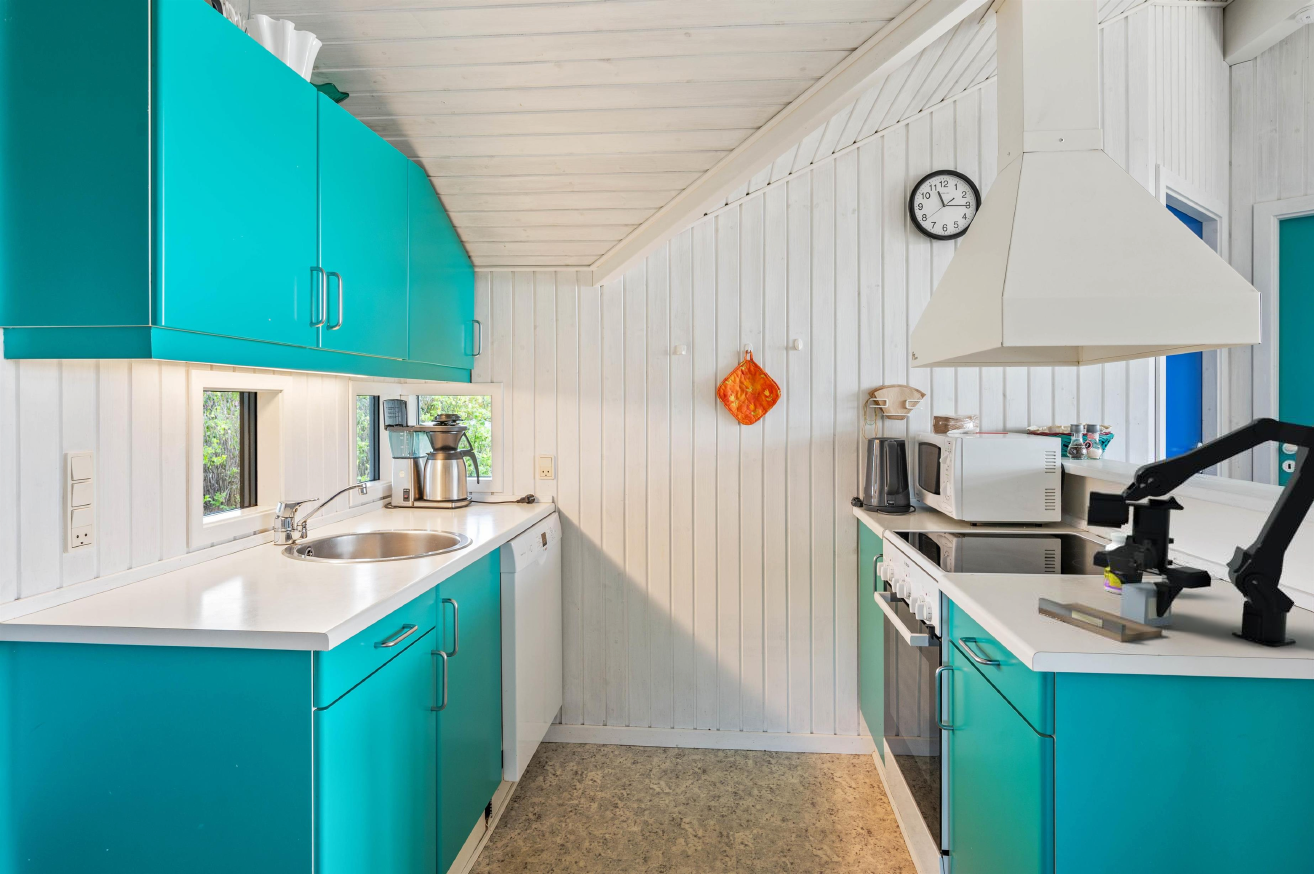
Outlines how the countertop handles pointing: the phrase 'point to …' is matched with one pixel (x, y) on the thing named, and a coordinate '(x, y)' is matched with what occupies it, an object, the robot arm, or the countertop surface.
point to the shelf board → (1098, 621)
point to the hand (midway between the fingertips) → (1146, 612)
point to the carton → (1142, 604)
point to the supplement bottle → (1110, 580)
